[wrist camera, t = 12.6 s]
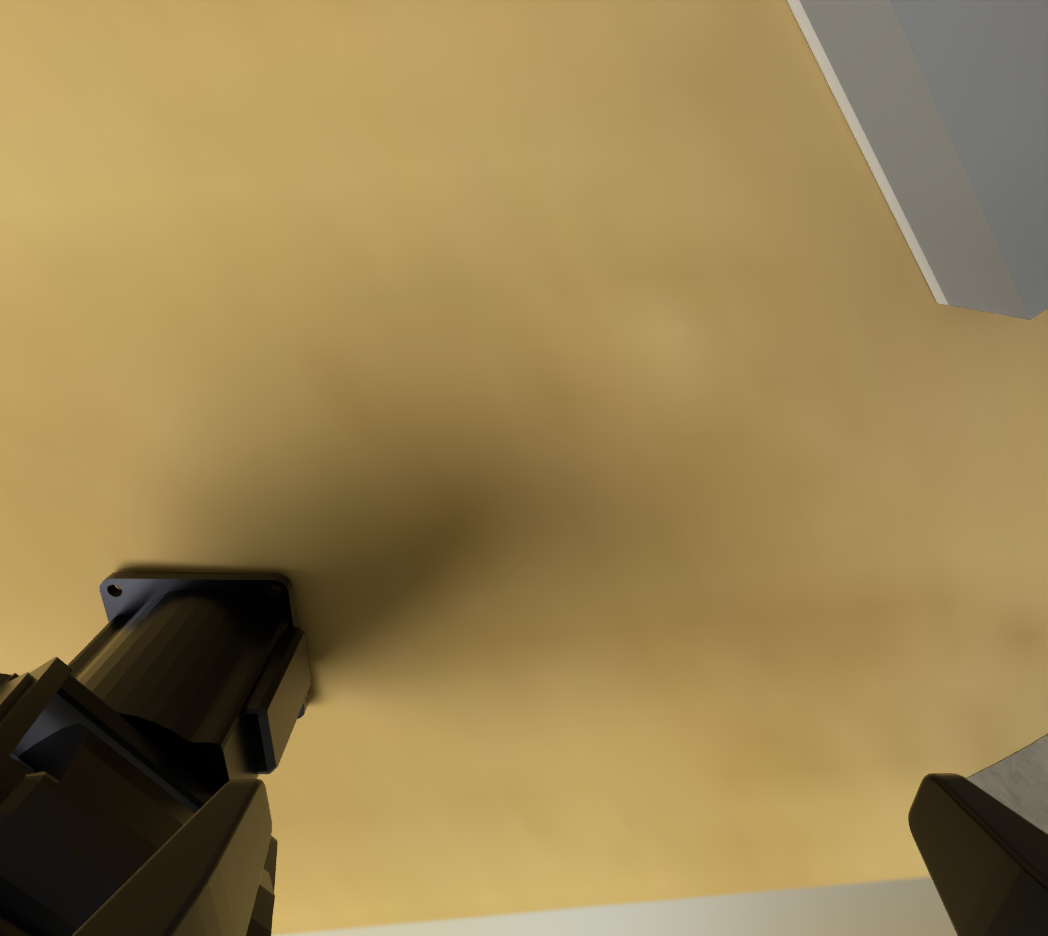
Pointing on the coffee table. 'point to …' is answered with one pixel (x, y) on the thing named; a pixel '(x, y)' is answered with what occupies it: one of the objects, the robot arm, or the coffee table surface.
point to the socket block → (950, 134)
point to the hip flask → (1020, 782)
